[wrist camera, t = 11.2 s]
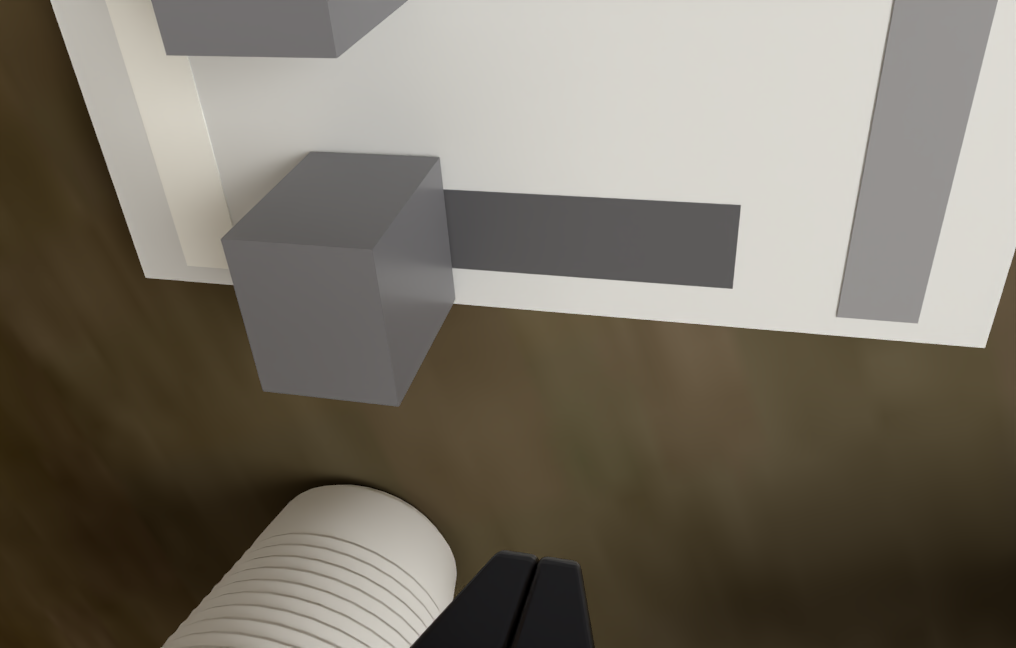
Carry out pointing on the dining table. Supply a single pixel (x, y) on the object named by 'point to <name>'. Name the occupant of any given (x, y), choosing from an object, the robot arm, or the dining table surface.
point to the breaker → (344, 275)
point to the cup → (330, 578)
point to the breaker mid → (267, 26)
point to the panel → (613, 151)
